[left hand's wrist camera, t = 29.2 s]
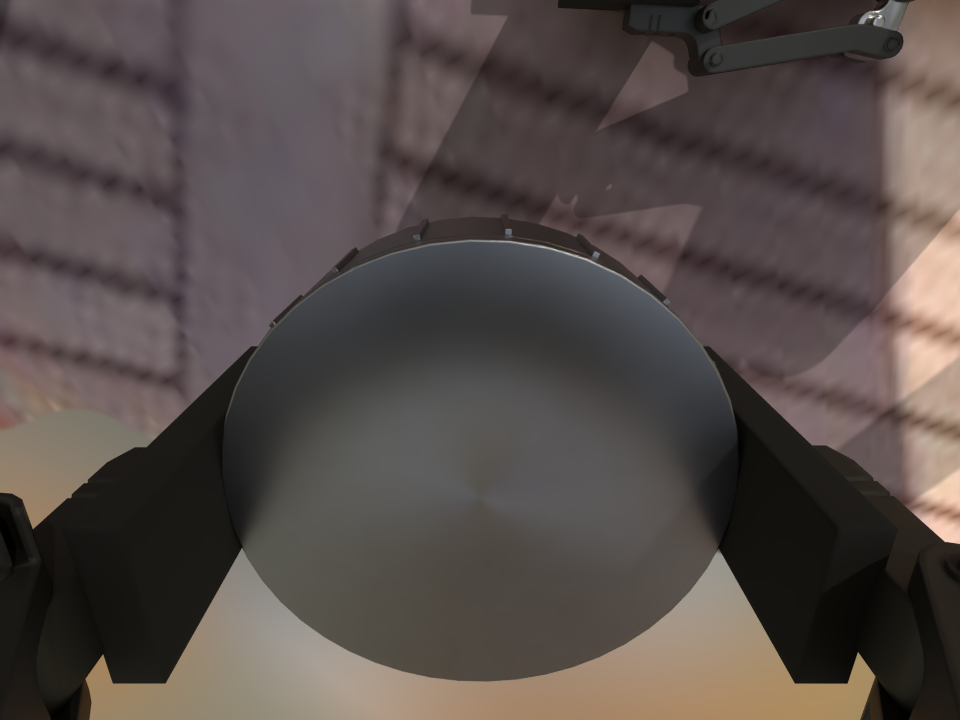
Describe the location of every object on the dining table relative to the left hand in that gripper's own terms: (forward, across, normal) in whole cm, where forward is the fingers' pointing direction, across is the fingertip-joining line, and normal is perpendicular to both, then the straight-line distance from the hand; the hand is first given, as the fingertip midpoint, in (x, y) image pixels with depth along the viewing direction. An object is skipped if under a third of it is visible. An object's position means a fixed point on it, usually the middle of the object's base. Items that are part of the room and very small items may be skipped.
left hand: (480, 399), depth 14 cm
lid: (-4, 0, 0) cm, 4 cm away
